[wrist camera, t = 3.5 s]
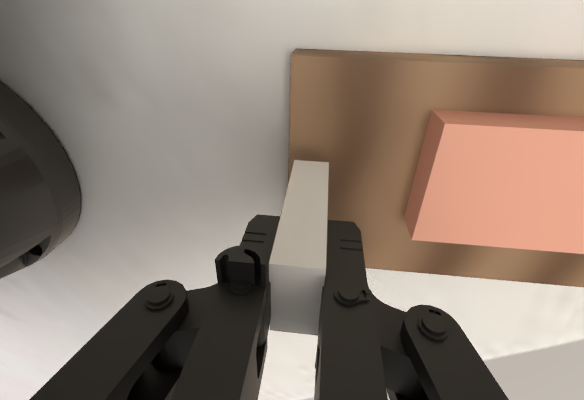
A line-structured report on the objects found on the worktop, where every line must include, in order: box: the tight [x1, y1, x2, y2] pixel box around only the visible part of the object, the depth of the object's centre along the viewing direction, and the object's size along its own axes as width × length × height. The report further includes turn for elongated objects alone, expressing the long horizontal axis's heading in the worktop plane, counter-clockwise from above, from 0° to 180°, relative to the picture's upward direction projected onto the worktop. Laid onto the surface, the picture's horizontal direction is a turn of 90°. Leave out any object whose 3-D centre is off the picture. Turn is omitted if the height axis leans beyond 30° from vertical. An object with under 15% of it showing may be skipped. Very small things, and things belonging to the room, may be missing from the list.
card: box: [404, 110, 584, 254], centre depth 15 cm, size 9×6×2 cm, turn 88°
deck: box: [288, 49, 584, 287], centre depth 18 cm, size 18×12×2 cm, turn 88°
